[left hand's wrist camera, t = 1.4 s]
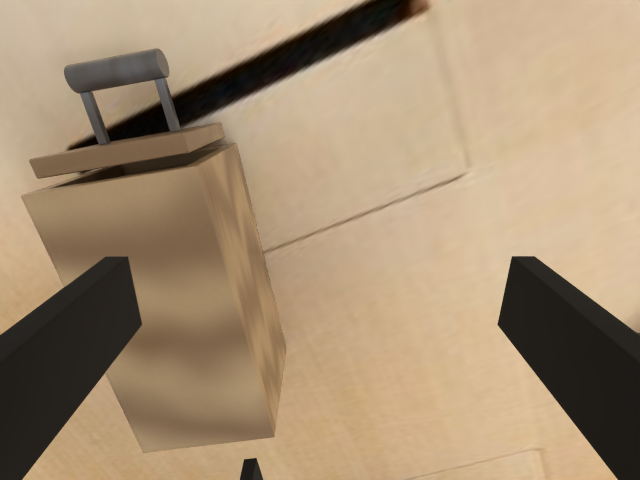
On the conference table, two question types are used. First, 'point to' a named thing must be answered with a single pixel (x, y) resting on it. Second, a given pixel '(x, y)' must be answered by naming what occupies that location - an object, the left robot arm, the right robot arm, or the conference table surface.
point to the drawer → (132, 149)
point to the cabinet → (178, 293)
